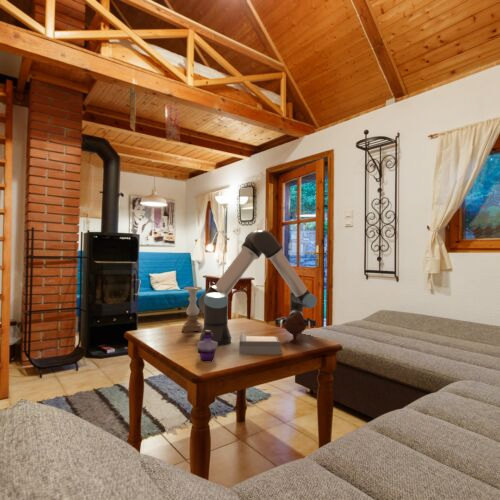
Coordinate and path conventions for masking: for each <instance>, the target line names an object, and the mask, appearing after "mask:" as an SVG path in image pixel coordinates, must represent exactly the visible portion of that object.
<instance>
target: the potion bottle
mask: <svg viewBox="0 0 500 500" xmlns="http://www.w3.org/2000/svg"><path fill="white" fill-rule="evenodd" d="M202 337H203V338H204V341H200V340H199V341H198V342H196V346H197V349H196V351H197V353H198V354H199V357H200V361H201V360H202V361H201V362H203V361H211V362H213V361H214V360H215V355H216V350H217V348H218V345H217V344H218V342H216V341H212V340H211V338H212V337H213V333H211V330H205V331H204V333H203V334H202ZM213 359H214V360H213ZM212 360H213V361H212Z"/></svg>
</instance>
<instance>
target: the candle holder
mask: <svg viewBox="0 0 500 500" xmlns="http://www.w3.org/2000/svg"><path fill="white" fill-rule="evenodd" d="M183 290H184V291H188V293H189V297H188V298H187V299H188V300H187V301H189V305H188V306H187V308H186V310H185V311H186V312H185V313H186V314H187V317H186V319H187V321H185V322H184V324H183V326H182V327H181V332H182V331H199V332H198V333H202V330H203V324H202V322H199V321H198V319H199V316H198V315H199V313H200V308H199V306H198V305H197V301H198V297H197V294H198V293H199V291H201V290H203V287H202V286H201V287H200V286H186V287H183Z"/></svg>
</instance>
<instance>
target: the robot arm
mask: <svg viewBox="0 0 500 500" xmlns="http://www.w3.org/2000/svg"><path fill="white" fill-rule="evenodd" d="M240 247H241V249H240V251H239V253H238V254H237V255H236V257H235V259H233V261H232V262H231V263H230V265H228V267H227V268H226V270H225V272H224V273H223V274H222V275H221V276H220V278H219V279H218V281H216V283H215V284H214V285H210V287H208V289H207V291H205V292H204V293H202V294H201V295H200V297H199V299H198V309H199V311H201V313H203V326H202V332H200V333H201V334H200V337H199V341H204V338H203V337H202V334H203V333H204V331H205V330H211V333H213V337H212V338H211V340H212V341H216V342H218V344H217V346H222V345H223V346H224V345H228V344H230V343H231V341H232V337H231V333H230V330H229V326H228V325H229V324H228V322H229V321H228V319H229V318H228V317H229V310H228V309H229V306H228V305H229V294H230V293H231V292H232V290H233V289H234V287H235V286H236V284H237V283H238V282H239V281H240V279H241V278H242V276H244V274H245V272H246V271H247V270H248V268H249V267H250V266H251V264H252V263H253V262H254V261H255V260H259V258H260V257H261V256H262V255H264V257H265V258H266V259H267V260H270V262H271V263H272V264H273V266H274V267H275V269H276V270H277V272H278V274H279V275H280V276H281V278H282V280H284V282H285V283H286V285H287V286H288V288H289V289H290V291H289V315H288V317H289V316H291V315H293V314H294V313H301V314H302V315H303V316H304V308H306V309H314V307H315V306H317V302H318V299H317V297H316V296H315V295H314V294H312V293H311V292H310V290H309V289H308V288H307V286H306V285H305V284H304V282H303V281H302V279H301V278H300V275H298V273H297V271H296V270H295V269H294V267H293V266H292V264H291V263H290V261H289V260H288V258H287V257H286V256H285V254H284V252H283V247H282V246H281V245H280V243H279V242H278V240H277V239H276V237H275V236H274V235H273V233H271V232H270V231H268V230H266V229H260V230H254V231H251V232H249V233H248V234H247V235H246V236H245V238H244V242H243V243H242V244H241V246H240ZM288 317H286V316H282V317H279V318H275V321H274V323H275V325H276V326H277V325H278V327H279V329H282V328H283V325H284V323H285V322H286V319H287V318H288ZM303 321H304V323H306V324H307V325H306V326H307V327H308V330H311V327H316V326H317V322H316V320H314V319H311V318H309V317H306V318H304V320H303Z"/></svg>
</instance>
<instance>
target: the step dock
mask: <svg viewBox="0 0 500 500" xmlns="http://www.w3.org/2000/svg"><path fill="white" fill-rule="evenodd" d="M238 343H239V346H238V347H239V349H238V350H239V354H238V355H259V356H261V355H269V356H270V355H272V356H273V355H274V356H275V355H277V356H278V354H279V356H280V355H282V341H280V340H279V338H278V336H271V335H270V336H263V335H262V336H259V335H258V336H257V335H256V336H255V335H254V336H253V335H249V336H247V335H243V331H240V332H239V342H238Z"/></svg>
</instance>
